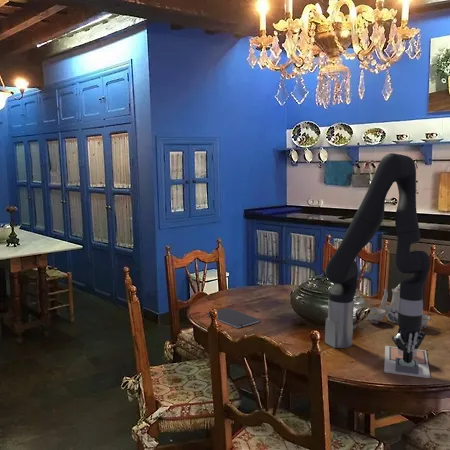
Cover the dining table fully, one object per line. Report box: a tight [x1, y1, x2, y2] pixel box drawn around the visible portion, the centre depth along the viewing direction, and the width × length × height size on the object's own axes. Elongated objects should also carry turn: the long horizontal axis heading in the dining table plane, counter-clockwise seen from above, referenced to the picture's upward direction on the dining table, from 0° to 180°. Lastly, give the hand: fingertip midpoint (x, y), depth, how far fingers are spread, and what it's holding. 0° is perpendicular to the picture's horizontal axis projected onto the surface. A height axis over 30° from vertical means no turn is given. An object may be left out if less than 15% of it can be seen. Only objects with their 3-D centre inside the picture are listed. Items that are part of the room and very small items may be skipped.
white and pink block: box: [398, 342, 417, 357], centre depth 179 cm, size 4×4×10 cm
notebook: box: [206, 307, 261, 329], centre depth 220 cm, size 13×2×21 cm
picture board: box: [383, 345, 431, 379], centre depth 176 cm, size 22×14×3 cm, turn 162°
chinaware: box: [366, 283, 435, 330], centre depth 214 cm, size 28×17×17 cm, turn 70°
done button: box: [399, 359, 415, 367], centre depth 169 cm, size 5×5×2 cm
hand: (407, 361), depth 168 cm, fingers closed
